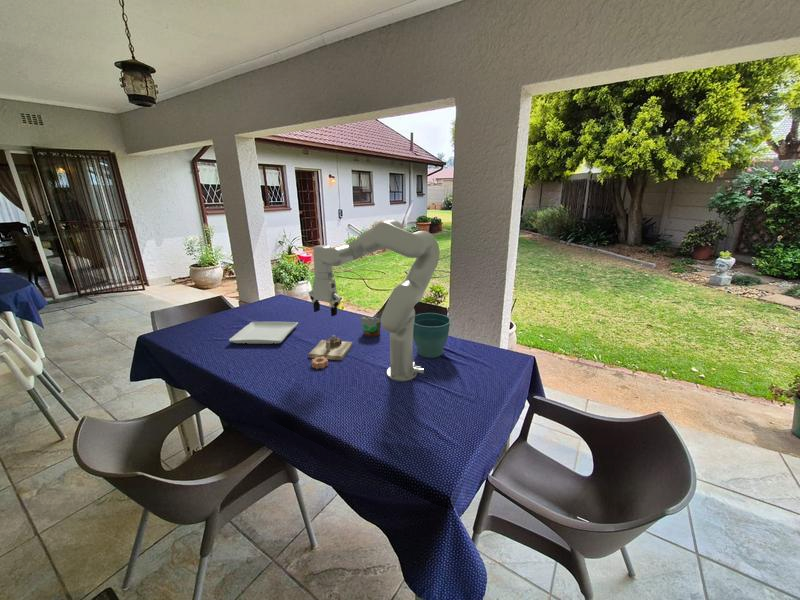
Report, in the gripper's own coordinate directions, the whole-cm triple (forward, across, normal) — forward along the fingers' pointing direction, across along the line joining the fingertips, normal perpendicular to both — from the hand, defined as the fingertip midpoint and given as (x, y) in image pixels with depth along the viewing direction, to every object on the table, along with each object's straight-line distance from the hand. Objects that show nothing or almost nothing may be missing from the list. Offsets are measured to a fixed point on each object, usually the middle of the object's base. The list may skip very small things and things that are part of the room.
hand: (325, 313), depth 147 cm
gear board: (+23, +4, -8) cm, 24 cm away
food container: (+23, -1, -33) cm, 40 cm away
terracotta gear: (+23, 0, +5) cm, 23 cm away
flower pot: (+22, -38, -29) cm, 53 cm away
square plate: (+25, +48, -6) cm, 54 cm away
